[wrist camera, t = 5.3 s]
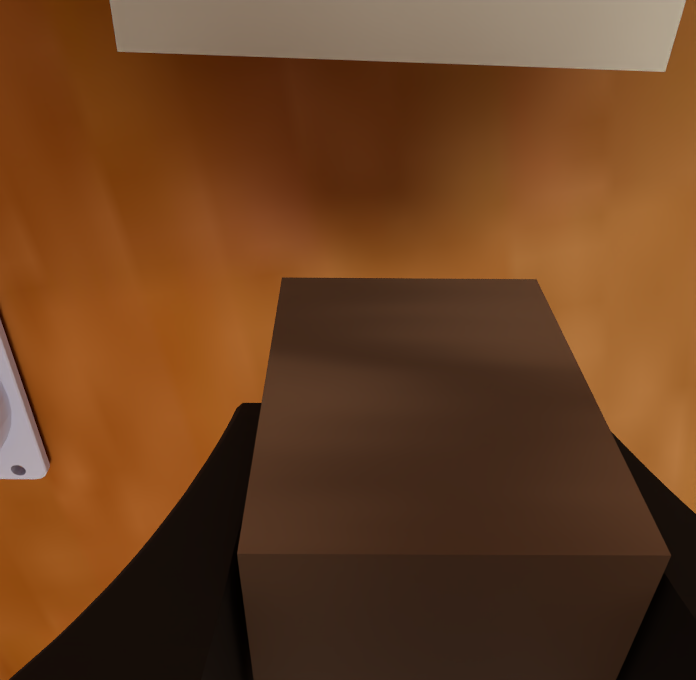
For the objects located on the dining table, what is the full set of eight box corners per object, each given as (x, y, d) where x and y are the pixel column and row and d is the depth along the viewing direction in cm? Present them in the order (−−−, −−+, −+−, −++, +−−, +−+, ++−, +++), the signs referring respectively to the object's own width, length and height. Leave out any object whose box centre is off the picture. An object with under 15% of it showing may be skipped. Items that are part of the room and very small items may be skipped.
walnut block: (291, 461, 15) (263, 758, 10) (282, 277, 12) (237, 553, 7) (500, 462, 15) (581, 758, 10) (536, 279, 12) (671, 555, 7)
